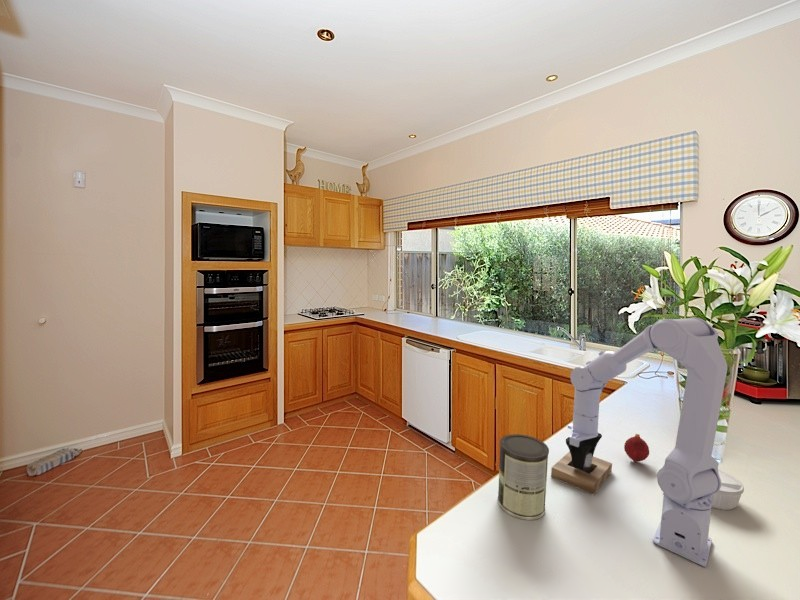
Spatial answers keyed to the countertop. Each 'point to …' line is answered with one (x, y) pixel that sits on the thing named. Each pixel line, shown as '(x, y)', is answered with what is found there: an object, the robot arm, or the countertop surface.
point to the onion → (636, 448)
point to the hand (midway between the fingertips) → (582, 463)
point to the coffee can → (523, 476)
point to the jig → (582, 473)
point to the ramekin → (727, 492)
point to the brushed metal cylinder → (587, 463)
